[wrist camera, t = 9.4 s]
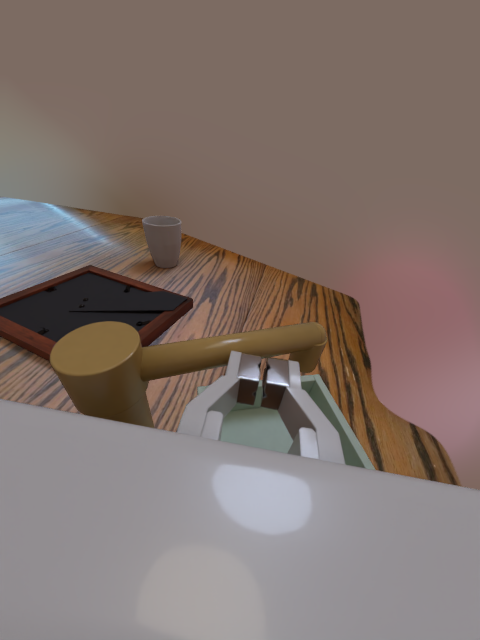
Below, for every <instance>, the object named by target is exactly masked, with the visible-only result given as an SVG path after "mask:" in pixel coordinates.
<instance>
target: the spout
mask: <svg viewBox="0 0 480 640" xmlns="http://www.w3.org/2000/svg"><path fill="white" fill-rule="evenodd" d="M326 343H327V337H326V331H325V329H324V327H323V326H322V325H320V324H318V323H316V322H308V323H301V324H295V325H288V326H281V327H274V328H268V329H261V330H254V331H248V332H241V333H234V334H227V335H221V336H214V337H207V338H201V339H194V340H187V341H180V342H174V343H167V344H160V345H153V346H147V347H142V344H141V340H140V336H139V333H138V332H137V331H136V329H135V328H133V327H132V326H130V325H128V324H126V323H122V322H115V321H105V322H97V323H92V324H88V325H85V326H82V327H80V328H77V329H75V330H73V331H71V332H70V333H68V334H66V335H65V336H64V337H62V338H61V339H60V340H59V341H58V342H57V343H56V344H55V346H54V347H53V349H52V351H51V354H50V363H51V366H52V367H53V369H54V371H55V373H56V374H57V376H58V378H59V379H60V381H61V383H62V385H63V386H64V388H65V390H66V391H67V393H68V395H69V397H70V398H71V400H72V402H73V403H74V405H75V407H76V408H77V410H78V411H80V412H81V413H82V414H84V415H87V416H93V417H99V418H100V417H109V416H113V415H116V414H119V413H121V412H123V411H125V410H127V409H129V408H130V407H132V406H133V405H134V404H136V403H137V402H138V401H139V400H140V399H141V398H142V396H143V395H144V393H145V391H146V389H147V387H148V383H149V381H150V380H155V379H160V378H165V377H170V376H176V375H181V374H186V373H191V372H196V371H201V370H206V369H212V368H217V367H222V366H227V365H228V362H229V358H230V354H231V351H237V352H243V353H248V354H253V355H258V356H261V359H263V358H267V357H273V356H279V355H284V354H289V353H290V356H289V360H290V361H296V362H298V363H299V367H300V372H303V373H309V372H312V371H313V370H314V369H315V368H316V365H317V363H318V361H319V359H320V356H321V354H322V352H323V349H324V347H325V345H326Z"/></svg>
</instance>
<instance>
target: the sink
mask: <svg viewBox="0 0 480 640" xmlns="http://www.w3.org/2000/svg"><path fill="white" fill-rule="evenodd" d="M300 377H301V387H302V390H305V391H306V392H307V393H308V395H309V396H310V397H311V398H312V400H313V401H314V402H315V404H316V405H317V406H318V407H319V409H320V410H321V411H322V412H323V414H324V415H325V416H326V418H327V419H328V420H329V421H330V423H331V424H332V425H333V426H334V428H335V429H336V430H337V431H338V433H339V436H340V441H341V446H342V450H343V455H344V460H345V464H346V465H350V466H356V467H361V468H366V469H371V470H375V468H374V467H373V465H372V463H371V461H370V460H369V458H368V456H367V455H366V453H365V451H364V450H363V448H362V446H361V445H360V443H359V441H358V440H357V438H356V436H355V435H354V433H353V431H352V429H351V428H350V426H349V424H348V423H347V421H346V419H345V418H344V416H343V414H342V413H341V411H340V409H339V408H338V406H337V404H336V403H335V401H334V399H333V397H332V396H331V394H330V392H329V391H328V389H327V387H326V386H325V384H324V382H323V381H322V379H321V377H320V376H319V374H317V375H307V376H300ZM208 387H209V386H206V387H205V386H202V387H197V395H199V394H200V393H201V392H203V391H204V390H205V389H206V388H208ZM262 389H263V388H262V380H260V381H259V386H258V390H257V392H256V399H255V403H254V406H253V405H246V404H240V403H236V405H235V406H234V407H233V408H232V410H231V411H230V412H229V413H228V414H227V415H226V416H225V418H224V419H223V425H222V434H221V441H224V442H229V443H234V444H240V445H245V446H250V447H255V448H261V449H266V450H271V451H277V452H282V453H288V451H289V449H290V447H291V445H292V443H293V440H292V438H291V436H290V434H289V432H288V430H287V428H286V426H285V424H284V422H283V421H282V419H281V417H280V415H279V413H278V410H273V409H268V408H263V407H260V405H261V393H262Z"/></svg>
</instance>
